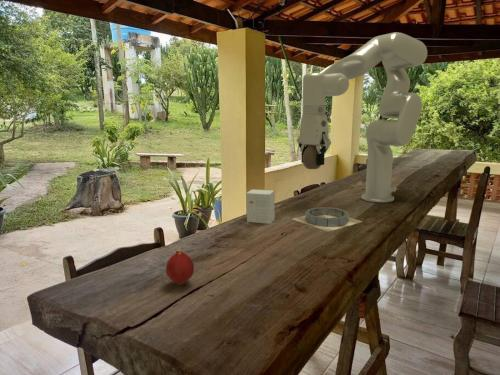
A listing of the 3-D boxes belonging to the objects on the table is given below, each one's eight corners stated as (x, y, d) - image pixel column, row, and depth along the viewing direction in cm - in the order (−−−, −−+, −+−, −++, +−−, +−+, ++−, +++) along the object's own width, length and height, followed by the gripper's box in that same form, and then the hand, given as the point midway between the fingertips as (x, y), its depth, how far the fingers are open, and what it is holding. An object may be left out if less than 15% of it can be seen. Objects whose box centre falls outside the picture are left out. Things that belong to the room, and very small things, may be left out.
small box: (274, 221, 118) (274, 190, 116) (270, 226, 113) (270, 194, 111) (252, 219, 121) (251, 188, 119) (246, 224, 116) (246, 192, 114)
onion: (169, 278, 79) (166, 244, 77) (195, 277, 79) (193, 243, 78) (165, 291, 73) (162, 255, 71) (193, 290, 74) (191, 254, 72)
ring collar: (325, 212, 125) (326, 205, 125) (356, 221, 114) (357, 213, 114) (297, 219, 118) (297, 211, 117) (327, 229, 107) (327, 221, 106)
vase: (322, 170, 121) (322, 144, 119) (301, 169, 122) (301, 144, 120) (322, 167, 127) (323, 142, 125) (303, 166, 129) (303, 142, 127)
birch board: (325, 212, 127) (325, 210, 127) (362, 223, 114) (362, 221, 114) (291, 221, 118) (291, 218, 118) (327, 234, 105) (327, 231, 105)
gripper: (340, 111, 116) (338, 165, 119) (304, 111, 130) (303, 160, 134) (324, 111, 112) (322, 167, 115) (288, 111, 126) (288, 162, 130)
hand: (312, 163), depth 124 cm, fingers closed on vase, 6 cm apart
